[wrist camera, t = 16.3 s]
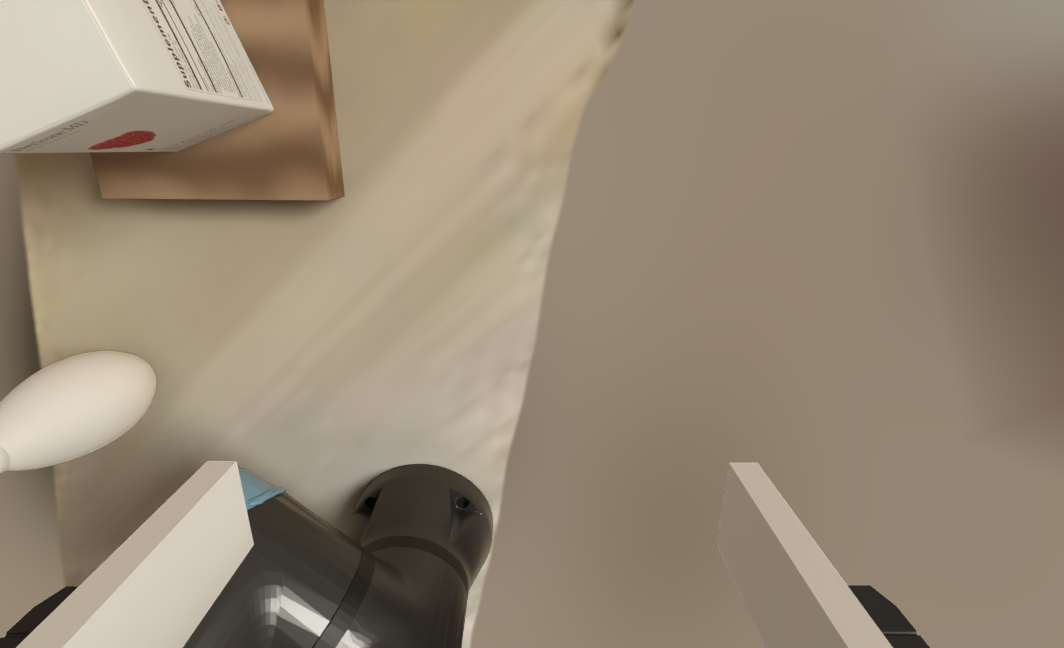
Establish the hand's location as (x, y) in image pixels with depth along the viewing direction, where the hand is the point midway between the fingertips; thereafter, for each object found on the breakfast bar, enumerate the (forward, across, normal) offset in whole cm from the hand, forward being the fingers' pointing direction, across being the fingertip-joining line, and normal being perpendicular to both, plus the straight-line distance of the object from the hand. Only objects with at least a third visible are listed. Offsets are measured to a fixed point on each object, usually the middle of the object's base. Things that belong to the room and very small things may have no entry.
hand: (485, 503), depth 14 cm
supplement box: (+31, +24, -14) cm, 41 cm away
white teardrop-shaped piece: (+35, +37, +12) cm, 52 cm away
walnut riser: (+35, +24, -14) cm, 44 cm away
